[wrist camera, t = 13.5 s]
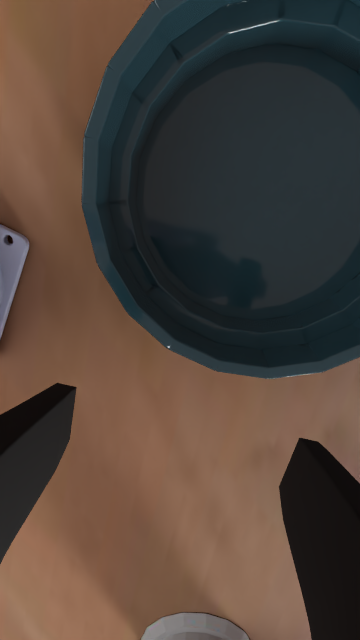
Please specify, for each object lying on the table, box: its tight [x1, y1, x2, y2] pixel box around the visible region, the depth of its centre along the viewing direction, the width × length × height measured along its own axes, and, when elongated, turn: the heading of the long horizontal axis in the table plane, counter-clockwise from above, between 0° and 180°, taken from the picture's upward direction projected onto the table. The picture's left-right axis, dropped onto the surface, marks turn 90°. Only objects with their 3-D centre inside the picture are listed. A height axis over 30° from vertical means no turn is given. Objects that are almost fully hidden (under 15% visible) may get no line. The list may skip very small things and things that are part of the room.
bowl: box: [82, 0, 360, 379], centre depth 15 cm, size 15×15×4 cm
